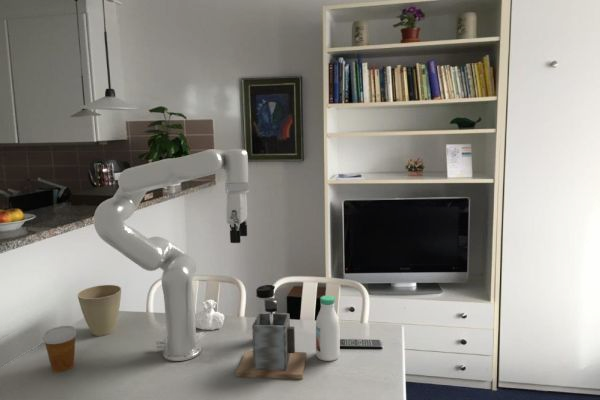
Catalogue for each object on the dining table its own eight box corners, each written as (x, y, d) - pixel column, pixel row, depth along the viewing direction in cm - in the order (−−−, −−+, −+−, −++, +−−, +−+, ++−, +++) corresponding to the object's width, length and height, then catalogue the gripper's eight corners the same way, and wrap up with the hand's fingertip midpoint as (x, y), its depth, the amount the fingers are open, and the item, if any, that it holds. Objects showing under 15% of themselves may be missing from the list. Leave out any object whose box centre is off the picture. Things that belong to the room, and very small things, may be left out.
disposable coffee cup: (45, 377, 139) (41, 340, 137) (46, 364, 147) (42, 329, 146) (80, 369, 143) (76, 333, 142) (79, 357, 152) (75, 323, 150)
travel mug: (273, 345, 158) (272, 289, 155) (255, 343, 159) (253, 288, 156) (278, 337, 164) (276, 283, 161) (260, 335, 165) (259, 282, 162)
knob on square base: (257, 358, 139) (255, 304, 137) (262, 346, 147) (260, 295, 144) (283, 358, 138) (281, 305, 136) (286, 346, 146) (285, 296, 144)
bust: (225, 332, 174) (228, 303, 179) (221, 327, 167) (224, 297, 173) (194, 332, 175) (198, 303, 180) (189, 327, 168) (193, 297, 174)
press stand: (236, 376, 137) (234, 328, 135) (246, 354, 151) (244, 310, 149) (302, 379, 135) (301, 329, 133) (306, 356, 149) (305, 311, 147)
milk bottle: (343, 352, 151) (342, 295, 148) (334, 363, 144) (334, 303, 141) (321, 348, 154) (320, 292, 152) (312, 359, 147) (311, 299, 145)
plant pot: (72, 335, 168) (68, 294, 166) (106, 321, 181) (103, 282, 179) (99, 344, 161) (95, 301, 159) (132, 328, 174) (129, 288, 172)
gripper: (232, 184, 156) (234, 233, 159) (218, 191, 139) (220, 245, 142) (253, 184, 156) (255, 233, 158) (242, 190, 138) (244, 245, 141)
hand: (239, 239), depth 150 cm, fingers open, 9 cm apart
